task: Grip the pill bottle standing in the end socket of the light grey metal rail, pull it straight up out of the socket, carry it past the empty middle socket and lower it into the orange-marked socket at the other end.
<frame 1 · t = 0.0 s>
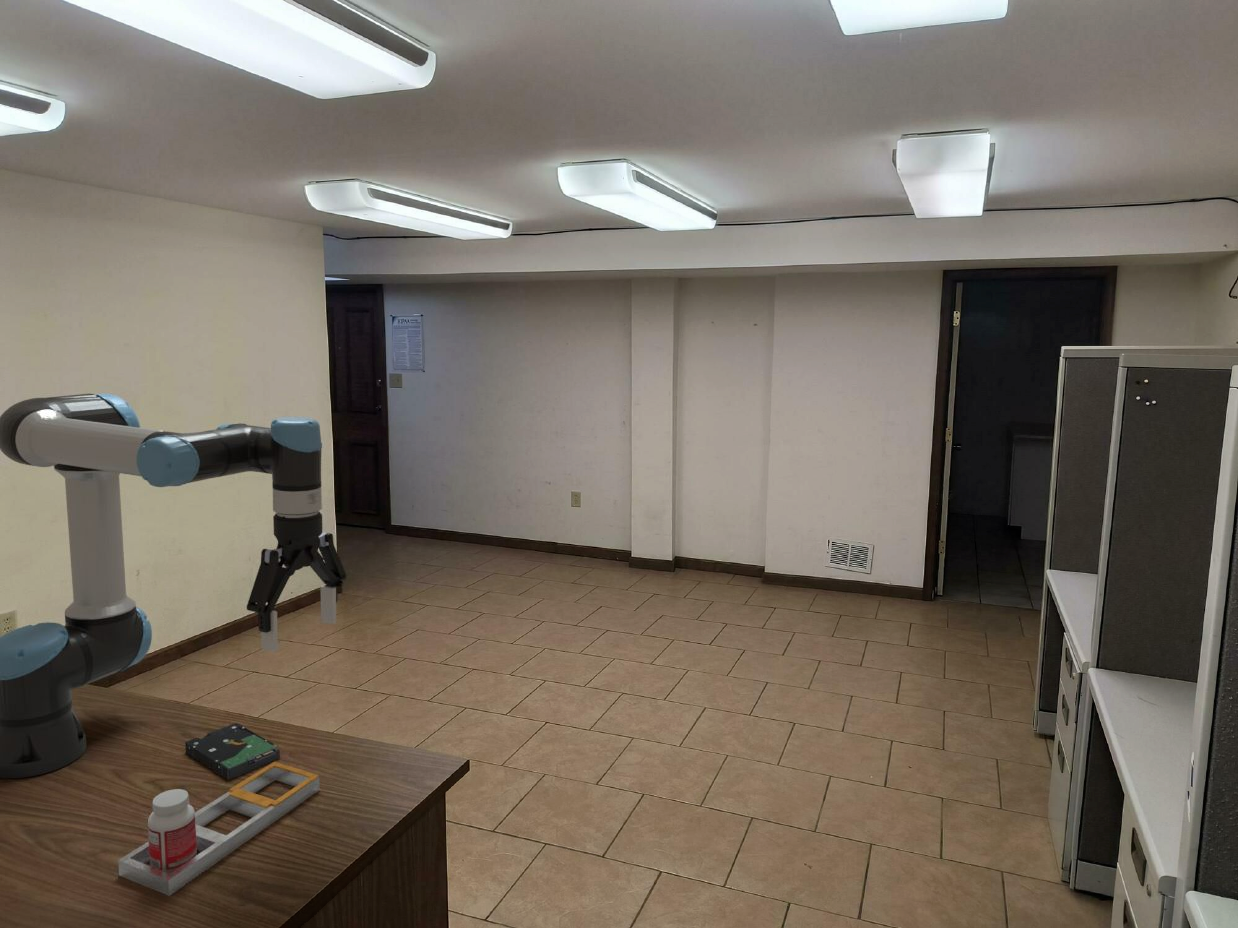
hand: (300, 635, 142), 28 cm above the table, tool pointing down, fingers open, 13 cm apart
disk drive: (232, 758, 156), on the table
pill bottle: (174, 866, 125), resting in socket rail
socket rail: (228, 828, 134), on the table
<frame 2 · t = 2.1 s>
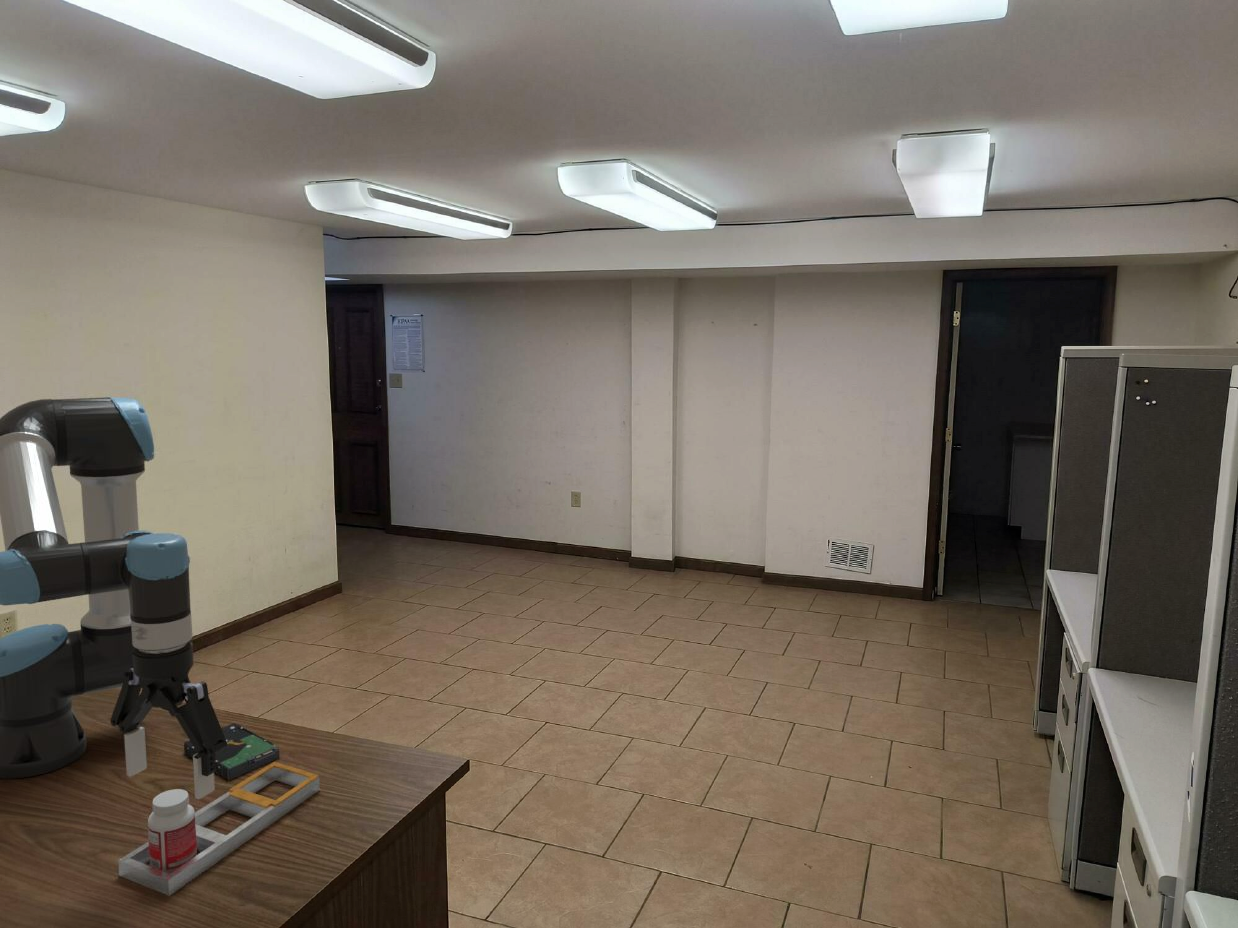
hand: (170, 782, 123), 14 cm above the table, tool pointing down, fingers open, 13 cm apart
nothing on the table moved.
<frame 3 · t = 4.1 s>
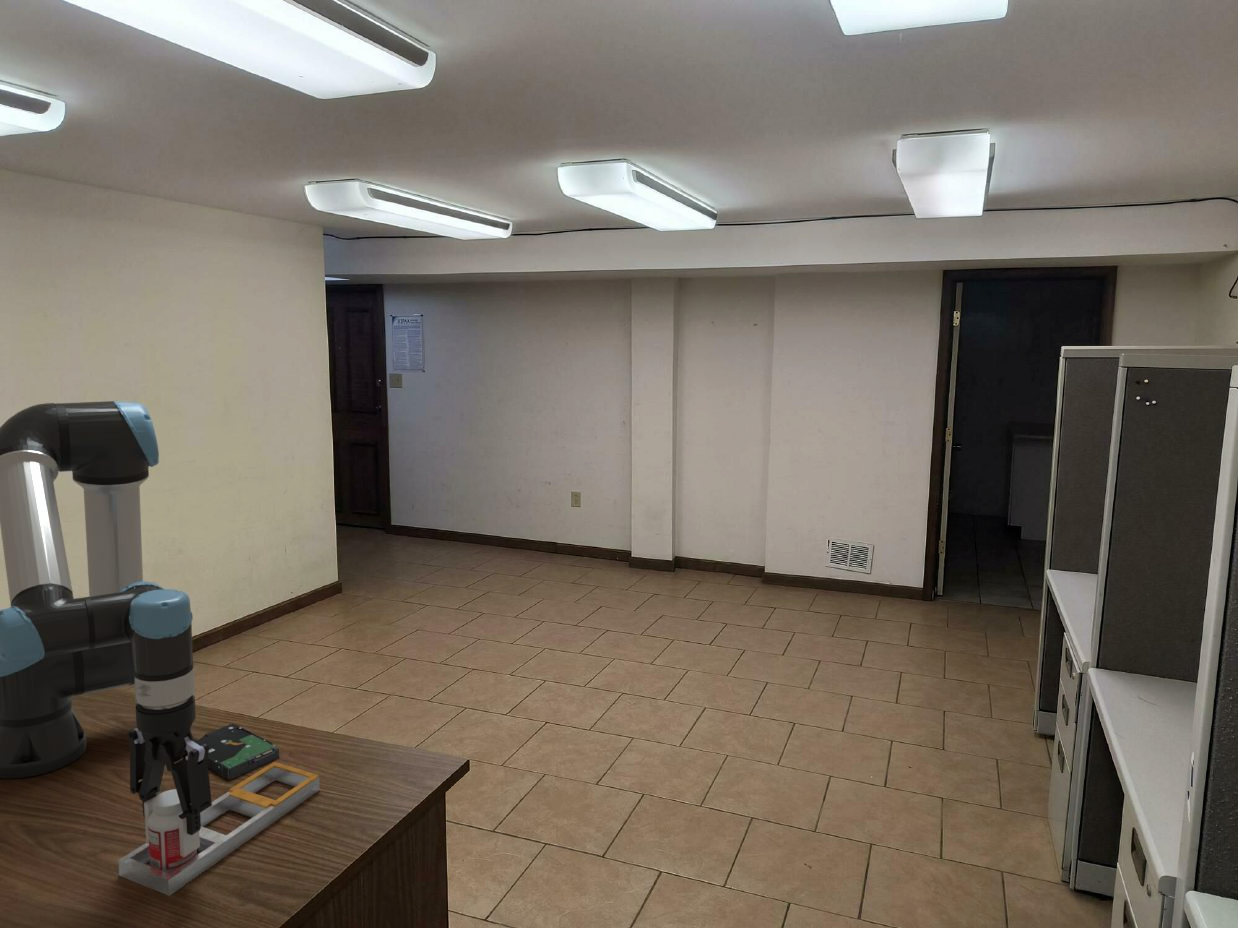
hand: (172, 844, 125), 3 cm above the table, tool pointing down, fingers closed on pill bottle, 6 cm apart
pill bottle: (174, 866, 125), resting in socket rail, touching gripper
everything else where it was.
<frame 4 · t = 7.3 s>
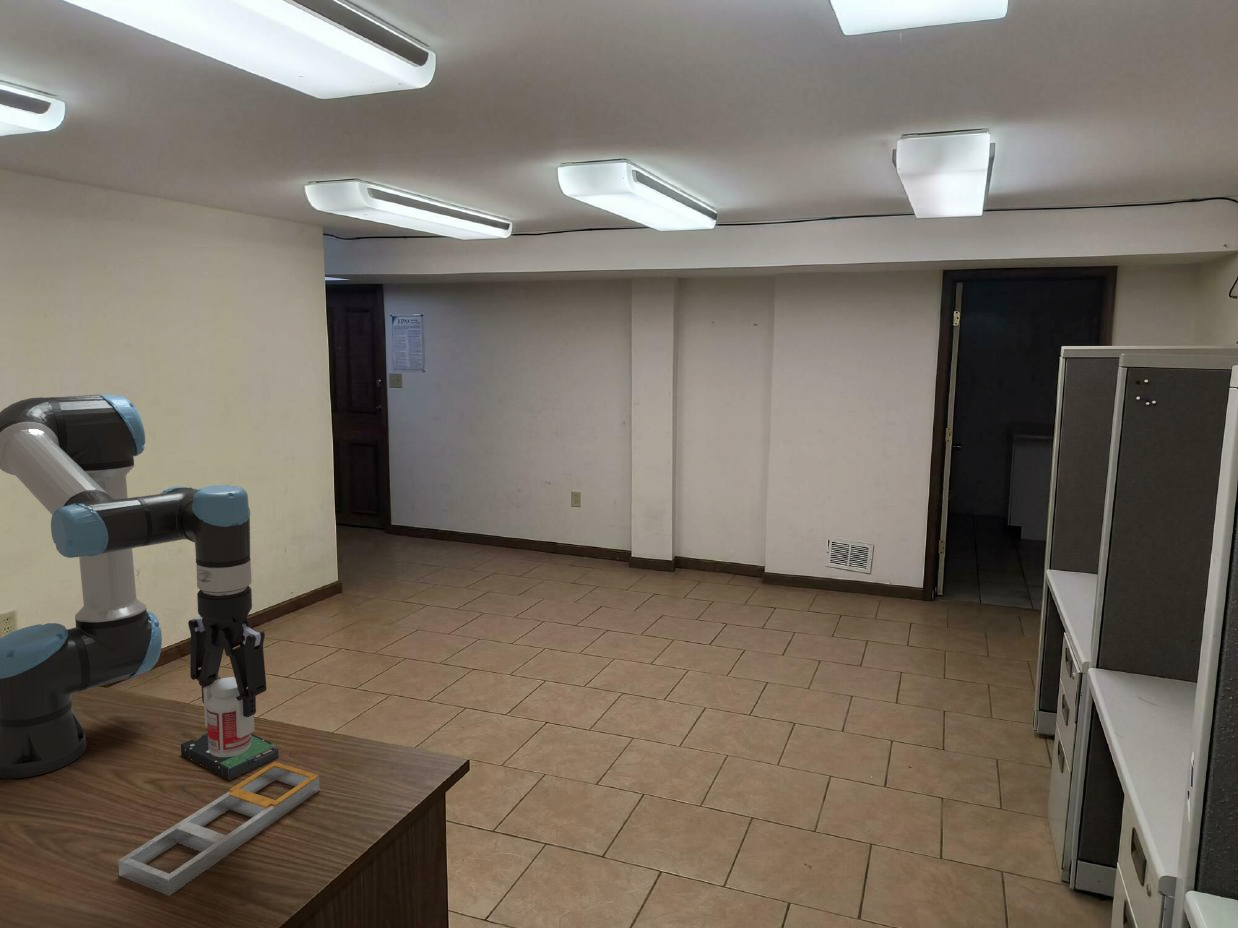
hand: (229, 728, 132), 17 cm above the table, tool pointing down, fingers closed on pill bottle, 6 cm apart
pill bottle: (230, 749, 133), point 13 cm above the table, touching gripper
everything else where it was.
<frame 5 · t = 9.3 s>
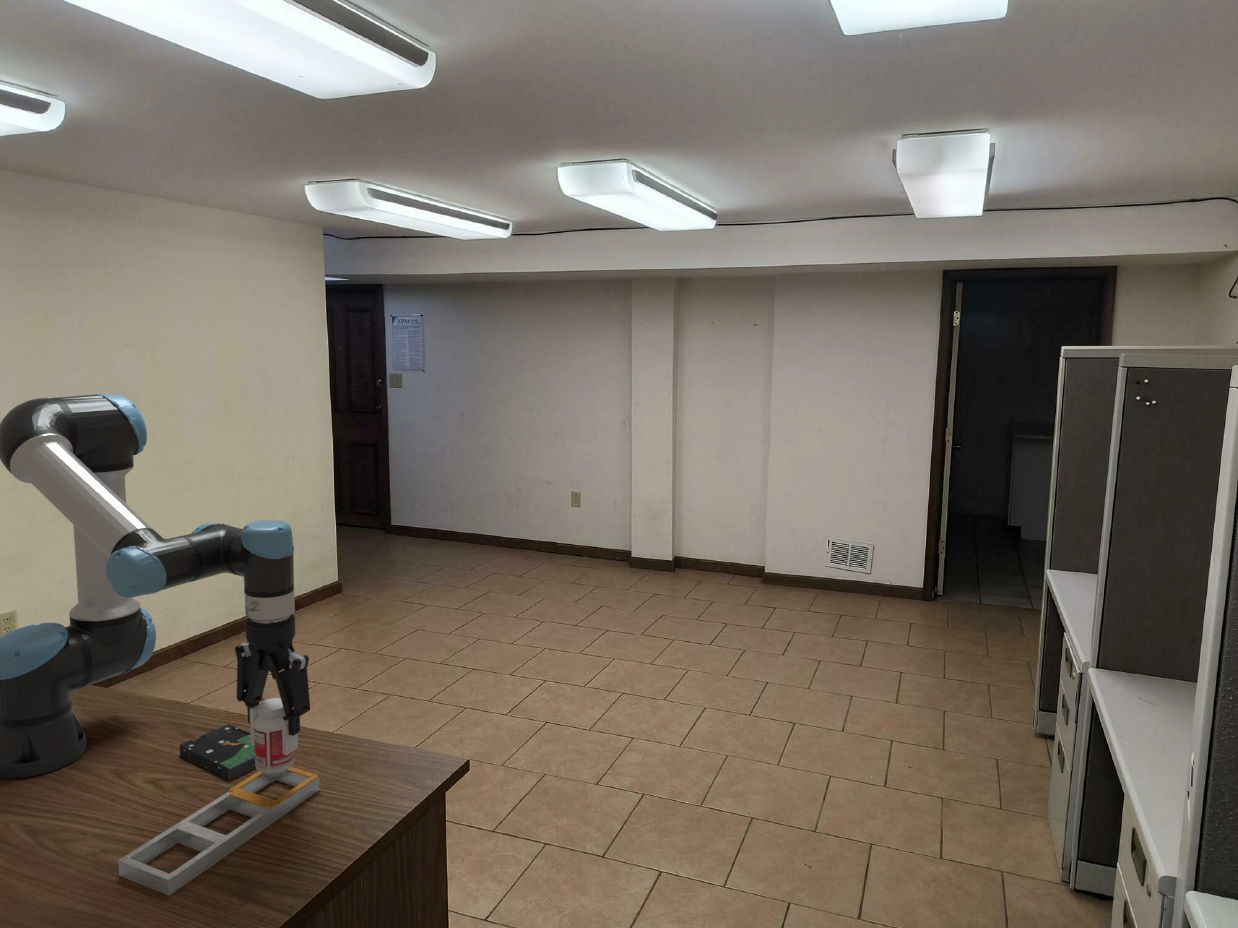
hand: (274, 746, 142), 9 cm above the table, tool pointing down, fingers closed on pill bottle, 6 cm apart
pill bottle: (275, 766, 142), point 6 cm above the table, touching gripper
everything else where it was.
when the fingers open (5 cm above the table, at t = 10.9 s): pill bottle drops 1 cm, resting in socket rail.
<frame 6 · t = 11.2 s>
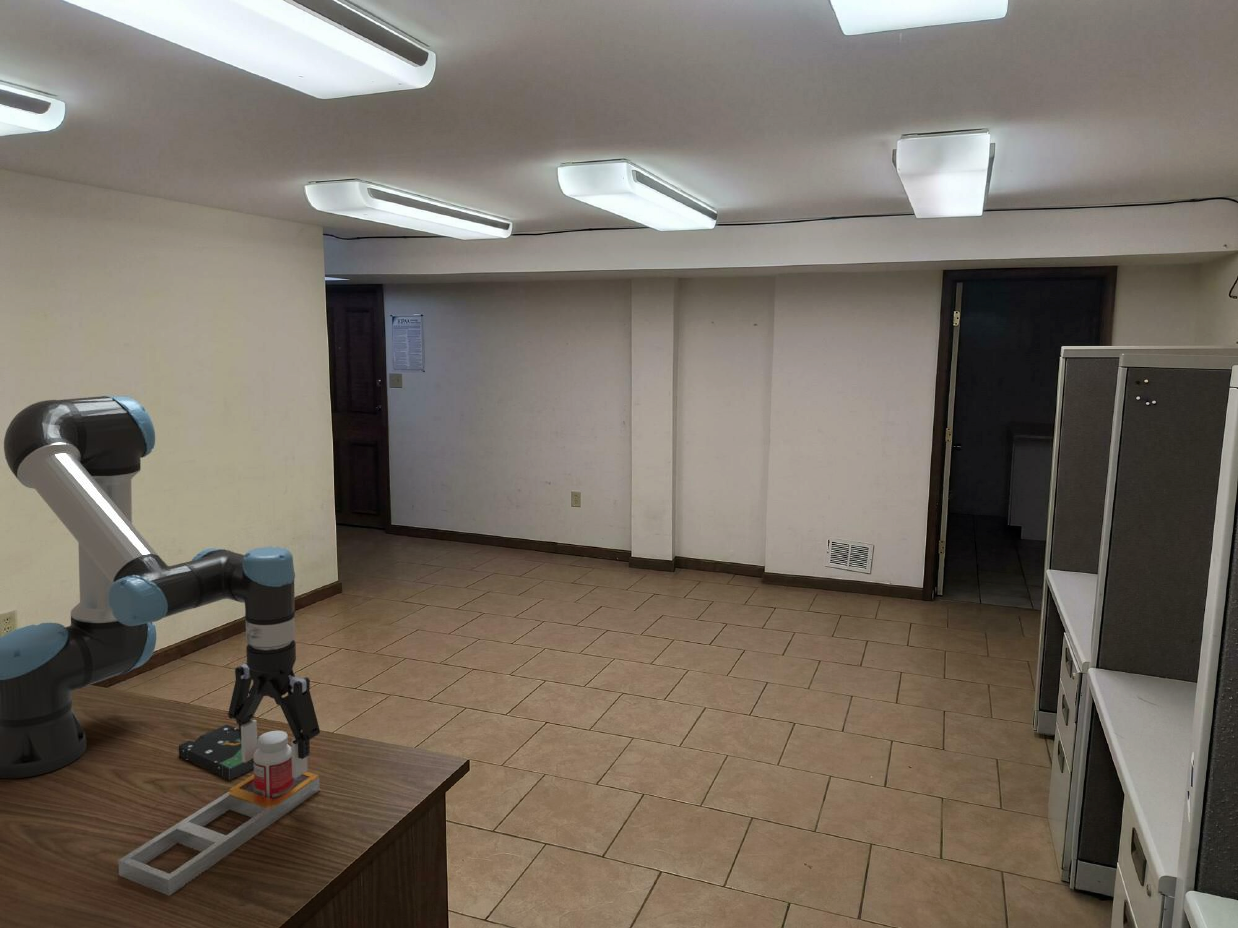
hand: (274, 765, 142), 6 cm above the table, tool pointing down, fingers open, 10 cm apart
pill bottle: (274, 798, 144), resting in socket rail
everything else where it was.
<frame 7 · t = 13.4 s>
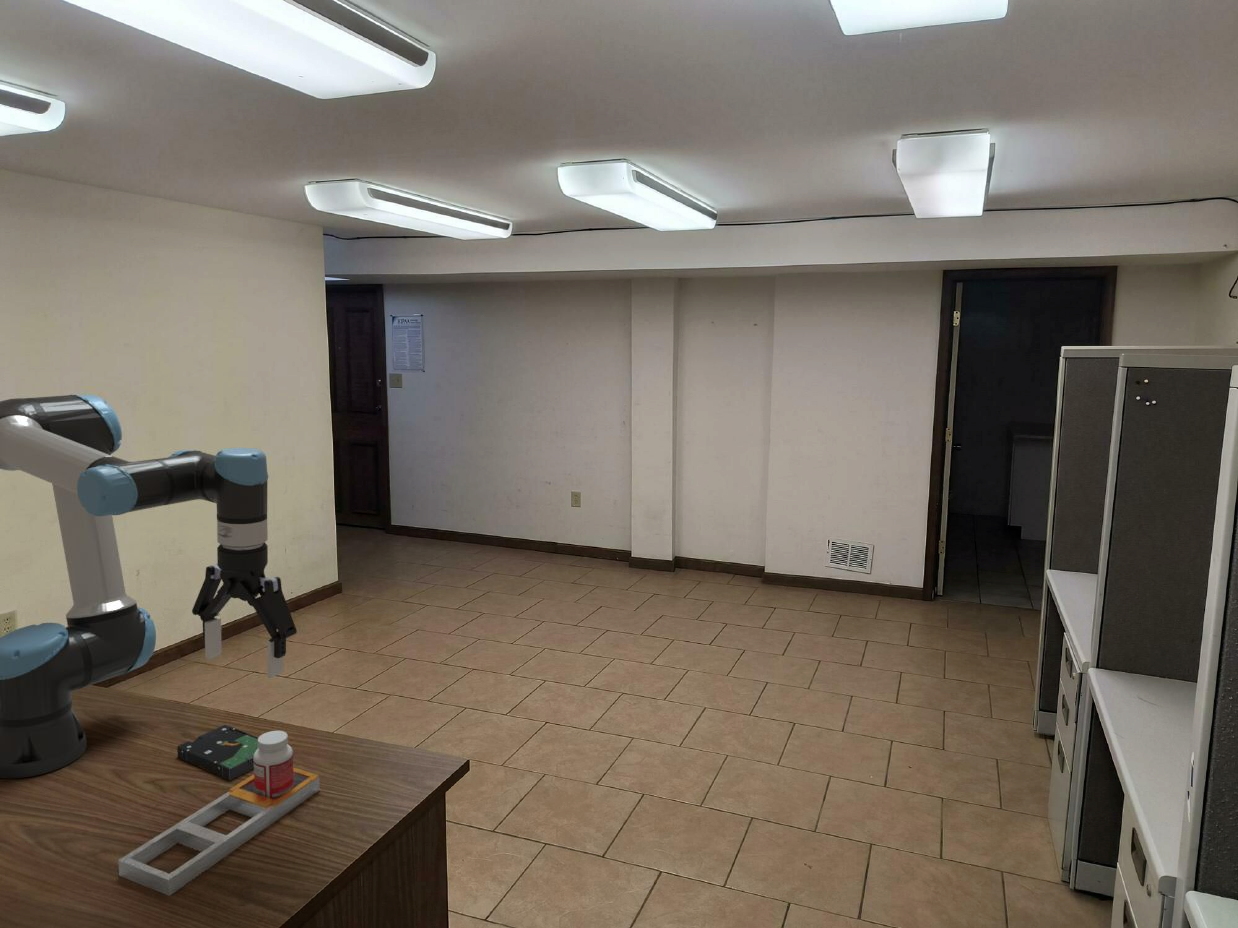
hand: (243, 665, 141), 23 cm above the table, tool pointing down, fingers open, 13 cm apart
nothing on the table moved.
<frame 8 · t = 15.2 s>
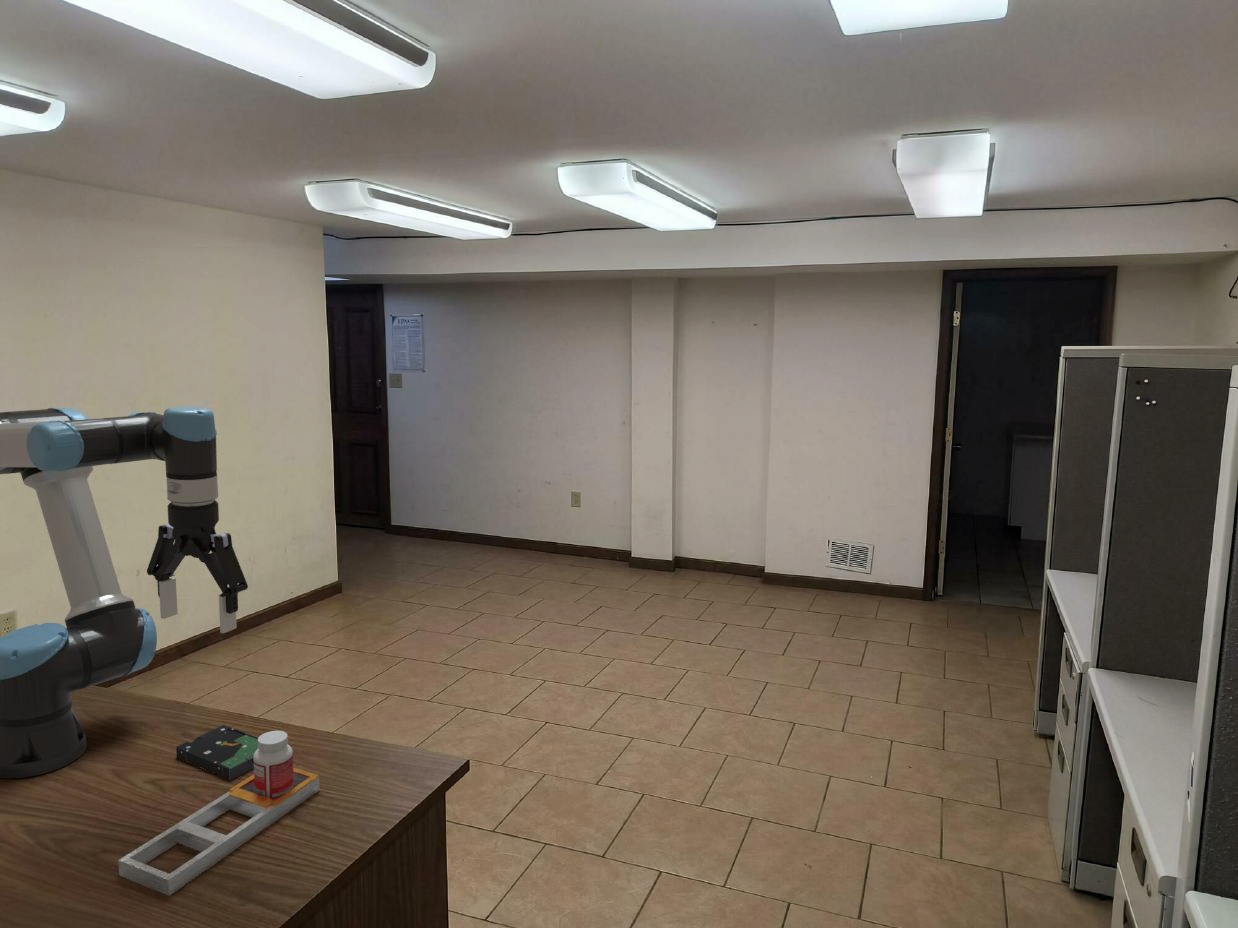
hand: (198, 623, 143), 29 cm above the table, tool pointing down, fingers open, 13 cm apart
nothing on the table moved.
at the end: pill bottle 0.2 cm from the target spot on the socket rail, point 0.0 cm above the socket rail's base; pill bottle tilted 0°; the gripper is holding nothing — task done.
